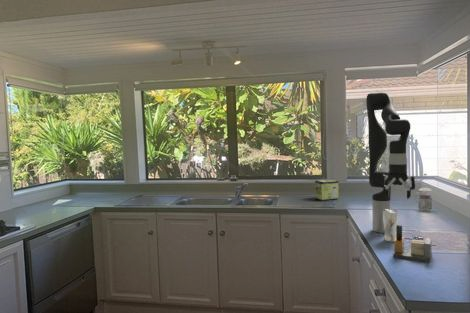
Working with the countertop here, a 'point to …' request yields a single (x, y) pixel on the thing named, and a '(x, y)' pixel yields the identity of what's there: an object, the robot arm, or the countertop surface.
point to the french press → (424, 198)
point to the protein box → (326, 190)
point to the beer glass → (390, 224)
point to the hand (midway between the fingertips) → (397, 197)
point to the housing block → (417, 247)
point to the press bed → (407, 254)
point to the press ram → (399, 240)
